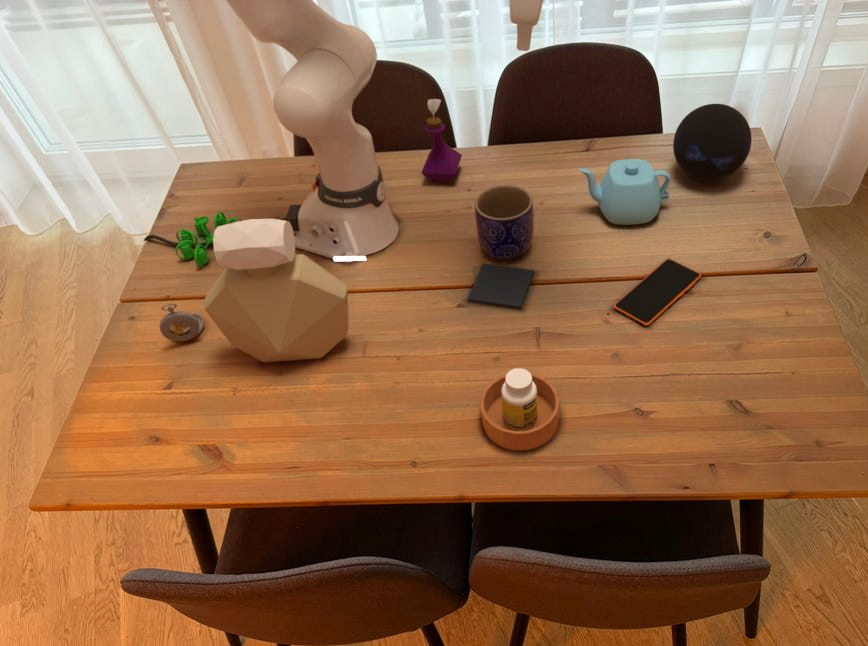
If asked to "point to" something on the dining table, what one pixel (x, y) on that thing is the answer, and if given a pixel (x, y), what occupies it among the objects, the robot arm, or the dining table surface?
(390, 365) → the dining table surface
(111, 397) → the dining table surface
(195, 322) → the pocket watch
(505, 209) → the planter
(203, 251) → the chandelier
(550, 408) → the round wooden tray
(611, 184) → the teapot
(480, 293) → the mat
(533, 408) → the supplement bottle
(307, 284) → the faceted beige jar
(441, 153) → the perfume bottle
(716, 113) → the decorative sphere
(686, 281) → the smartphone
